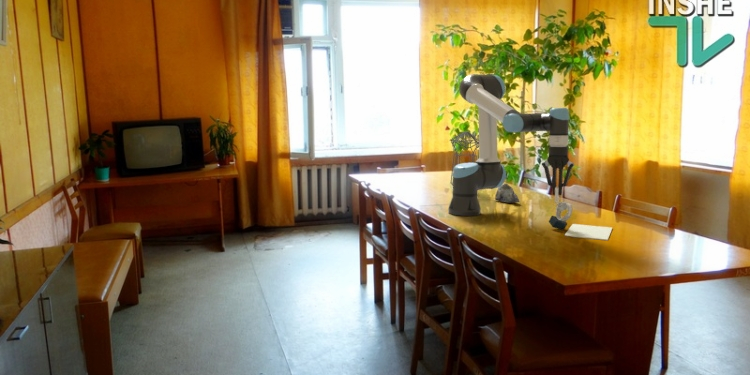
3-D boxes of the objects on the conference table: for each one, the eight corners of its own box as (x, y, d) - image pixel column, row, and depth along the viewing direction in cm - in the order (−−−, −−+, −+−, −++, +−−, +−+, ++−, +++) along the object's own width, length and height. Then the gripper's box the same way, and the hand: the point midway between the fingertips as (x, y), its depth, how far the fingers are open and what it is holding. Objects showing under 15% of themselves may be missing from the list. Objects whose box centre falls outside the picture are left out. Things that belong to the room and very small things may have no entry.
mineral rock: (520, 205, 294) (521, 185, 293) (499, 205, 294) (500, 185, 292) (513, 200, 307) (514, 181, 305) (493, 200, 307) (494, 181, 305)
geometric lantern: (446, 190, 337) (449, 130, 332) (473, 190, 339) (475, 130, 334) (453, 195, 322) (456, 131, 317) (480, 195, 324) (484, 132, 318)
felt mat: (564, 235, 231) (564, 234, 231) (572, 224, 251) (572, 223, 250) (607, 240, 224) (607, 239, 224) (612, 228, 243) (612, 227, 243)
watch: (557, 222, 247) (569, 200, 243) (565, 232, 240) (578, 210, 236) (546, 219, 246) (558, 197, 241) (554, 229, 239) (566, 206, 234)
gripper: (540, 146, 237) (539, 203, 240) (573, 146, 231) (571, 205, 234) (544, 145, 244) (542, 200, 246) (576, 145, 238) (574, 202, 241)
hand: (556, 202), depth 240 cm, fingers closed
